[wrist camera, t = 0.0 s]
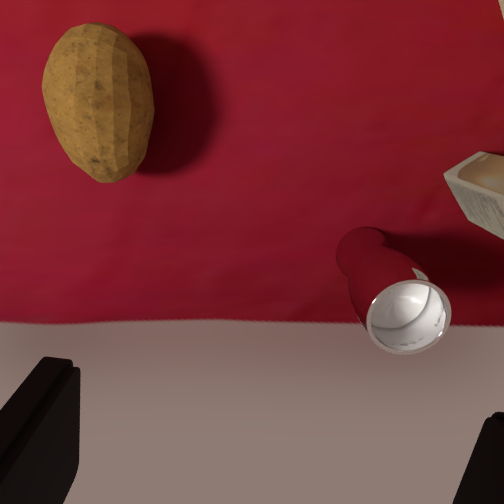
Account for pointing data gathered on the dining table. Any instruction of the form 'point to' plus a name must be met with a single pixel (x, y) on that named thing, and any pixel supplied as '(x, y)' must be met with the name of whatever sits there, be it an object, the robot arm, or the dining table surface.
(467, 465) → the robot arm
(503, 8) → the insert box
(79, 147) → the potato
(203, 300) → the dining table surface
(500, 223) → the skincare box
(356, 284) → the beer glass
